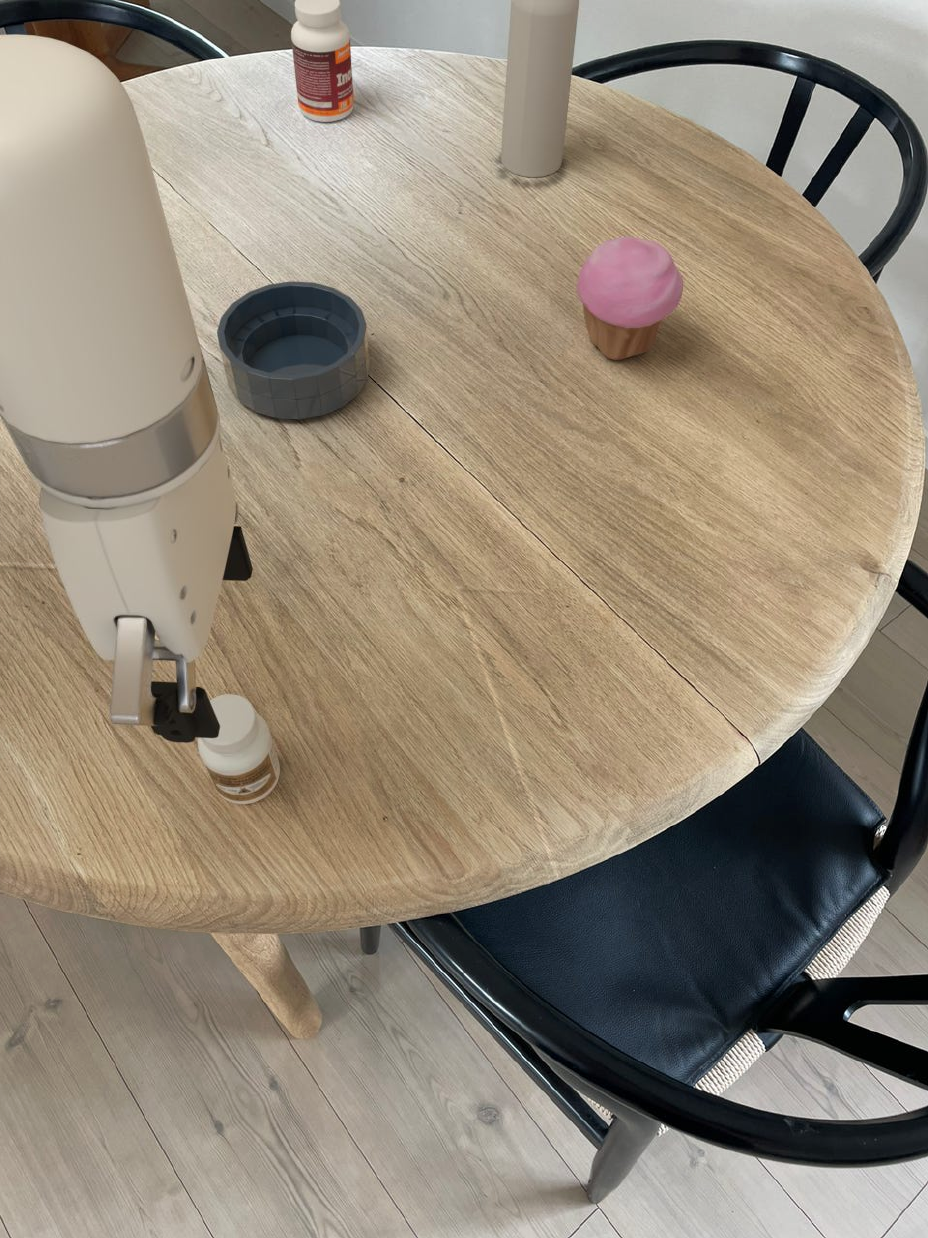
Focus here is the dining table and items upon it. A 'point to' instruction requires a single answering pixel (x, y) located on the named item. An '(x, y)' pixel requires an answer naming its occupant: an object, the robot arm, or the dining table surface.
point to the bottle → (538, 85)
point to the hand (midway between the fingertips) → (207, 649)
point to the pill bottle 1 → (240, 752)
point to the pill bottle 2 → (322, 60)
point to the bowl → (294, 349)
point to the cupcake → (627, 294)
